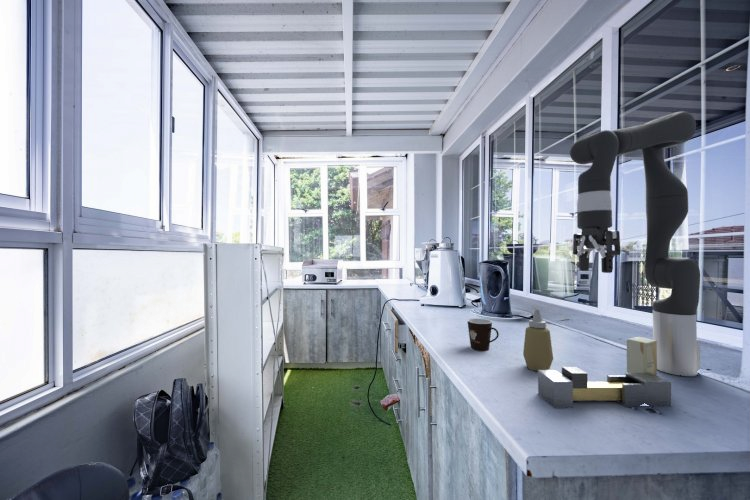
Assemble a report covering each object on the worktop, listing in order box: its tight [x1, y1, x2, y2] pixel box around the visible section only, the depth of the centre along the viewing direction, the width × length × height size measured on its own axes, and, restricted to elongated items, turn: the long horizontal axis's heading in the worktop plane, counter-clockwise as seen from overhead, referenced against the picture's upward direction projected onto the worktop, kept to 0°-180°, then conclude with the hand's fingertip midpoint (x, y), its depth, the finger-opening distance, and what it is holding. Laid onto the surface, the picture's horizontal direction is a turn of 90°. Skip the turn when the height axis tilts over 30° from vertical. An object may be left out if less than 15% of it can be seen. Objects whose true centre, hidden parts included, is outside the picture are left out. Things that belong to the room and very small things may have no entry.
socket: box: [537, 369, 574, 409], centre depth 73 cm, size 4×7×6 cm, turn 179°
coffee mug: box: [466, 318, 500, 352], centre depth 111 cm, size 12×9×10 cm
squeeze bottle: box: [522, 308, 554, 372], centre depth 93 cm, size 8×8×18 cm
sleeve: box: [606, 372, 672, 407], centre depth 72 cm, size 10×5×6 cm, turn 89°
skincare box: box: [626, 336, 658, 376], centre depth 80 cm, size 6×4×12 cm
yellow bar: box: [561, 366, 625, 401], centre depth 73 cm, size 18×4×6 cm, turn 89°
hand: (594, 271), depth 81 cm, fingers open, 8 cm apart
